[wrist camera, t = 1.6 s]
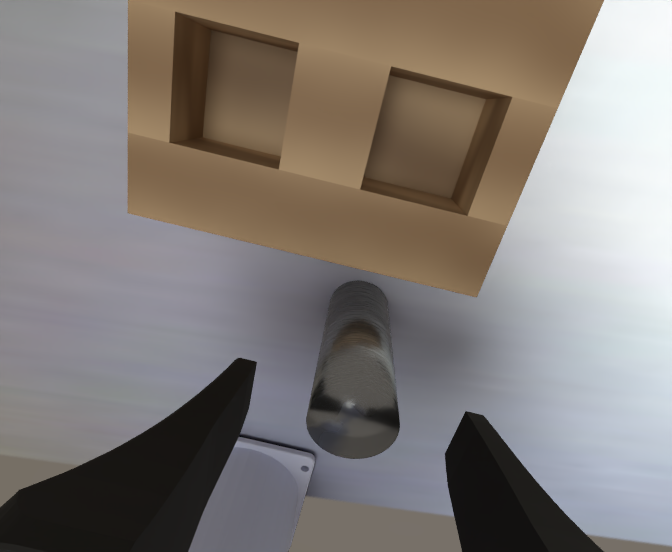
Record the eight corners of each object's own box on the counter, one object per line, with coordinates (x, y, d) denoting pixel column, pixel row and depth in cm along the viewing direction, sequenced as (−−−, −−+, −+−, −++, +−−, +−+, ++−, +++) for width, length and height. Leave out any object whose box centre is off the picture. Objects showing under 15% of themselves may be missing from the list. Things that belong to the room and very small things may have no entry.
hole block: (457, 264, 18) (476, 297, 15) (170, 194, 18) (127, 212, 15) (551, 23, 14) (605, -3, 11) (183, -72, 14) (128, -127, 11)
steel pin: (378, 338, 20) (385, 467, 13) (323, 325, 20) (298, 447, 13) (395, 288, 19) (412, 400, 12) (336, 274, 19) (316, 377, 12)
